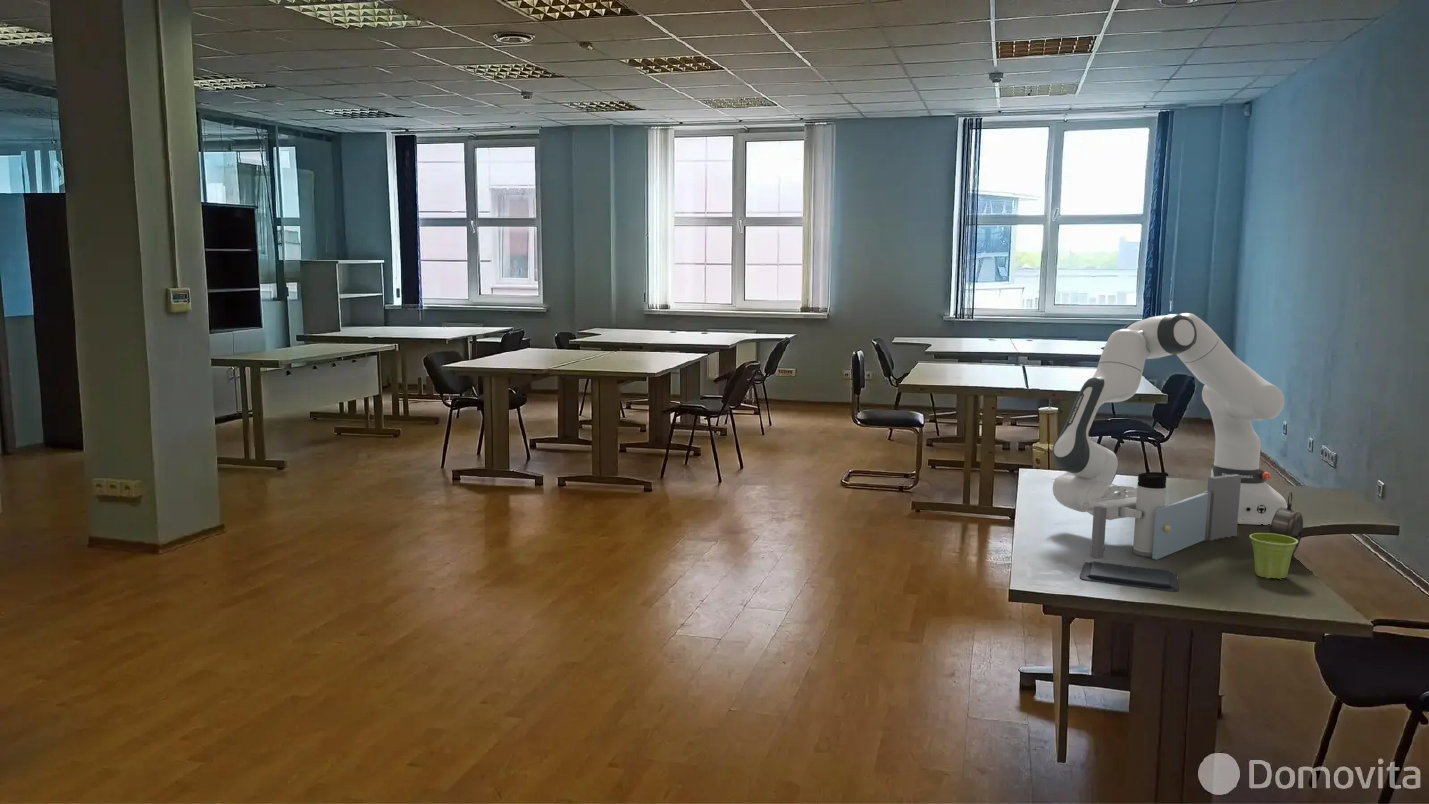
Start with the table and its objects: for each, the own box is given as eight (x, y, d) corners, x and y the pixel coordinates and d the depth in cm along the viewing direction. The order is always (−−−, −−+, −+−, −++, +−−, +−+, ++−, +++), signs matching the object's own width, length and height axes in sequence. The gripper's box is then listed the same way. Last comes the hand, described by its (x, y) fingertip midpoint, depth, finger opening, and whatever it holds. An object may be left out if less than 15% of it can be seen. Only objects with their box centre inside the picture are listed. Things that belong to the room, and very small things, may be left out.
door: (1201, 538, 249) (1205, 490, 248) (1212, 540, 248) (1215, 492, 246) (1150, 559, 230) (1154, 507, 229) (1161, 561, 229) (1165, 509, 227)
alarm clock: (1279, 551, 238) (1285, 486, 236) (1304, 556, 235) (1310, 490, 233) (1264, 560, 231) (1270, 493, 229) (1290, 565, 227) (1296, 497, 225)
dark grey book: (1078, 573, 214) (1085, 556, 228) (1077, 582, 215) (1084, 564, 228) (1179, 587, 206) (1180, 568, 219) (1178, 596, 206) (1179, 577, 220)
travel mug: (1165, 558, 232) (1171, 475, 229) (1136, 556, 233) (1141, 474, 230) (1159, 551, 238) (1164, 470, 235) (1130, 549, 239) (1135, 469, 236)
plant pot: (1275, 584, 213) (1278, 545, 212) (1237, 572, 221) (1240, 535, 220) (1304, 579, 216) (1308, 541, 215) (1265, 567, 225) (1269, 531, 224)
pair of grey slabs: (1230, 534, 254) (1234, 474, 252) (1237, 536, 252) (1242, 475, 250) (1090, 556, 233) (1094, 490, 231) (1097, 558, 231) (1101, 491, 229)
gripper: (1077, 492, 240) (1123, 504, 228) (1137, 485, 249) (1184, 497, 237) (1076, 517, 241) (1121, 531, 229) (1135, 510, 250) (1182, 522, 238)
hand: (1153, 513), depth 233 cm, fingers closed on travel mug, 6 cm apart
